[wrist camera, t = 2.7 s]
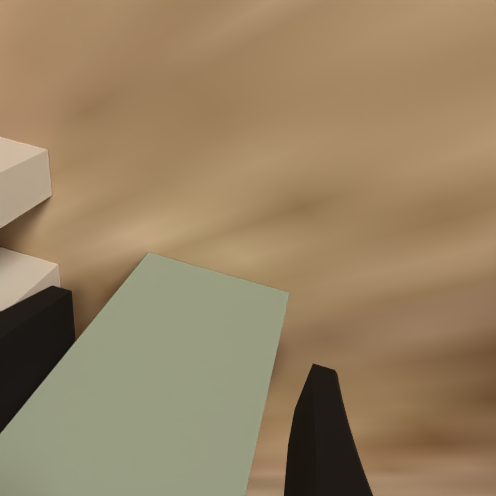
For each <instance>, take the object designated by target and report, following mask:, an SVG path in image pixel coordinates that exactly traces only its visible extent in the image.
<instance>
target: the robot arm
mask: <svg viewBox="0 0 496 496" xmlns="http://www.w3.org/2000/svg"><path fill="white" fill-rule="evenodd" d="M74 342H75V330H74V317H73V304H72V291H70V290H66V289H63V288H60V287H56V286H53V285H52V286H50V287H48V288H46V289H44V290H42V291H40V292H38V293H36V294H34V295H32V296H30V297H28V298H26V299H24V300H22V301H20V302H18V303H16V304H14V305H12V306H10V307H8V308H6V309H4V310H2V311H0V434H1V432H2V431H3V430H4V429H5V428H6V426H7V425H8V424H9V423H10V421H11V420H12V419H13V418H14V417H15V415H16V414H17V413H18V412H19V410H20V409H21V408H22V407H23V406H24V404H25V403H26V402H27V401H28V399H29V398H30V397H31V396H32V394H33V393H34V392H35V391H36V390H37V388H38V387H39V386H40V385H41V383H42V382H43V381H44V380H45V379H46V377H47V376H48V375H49V374H50V372H51V371H52V370H53V369H54V368H55V366H56V365H57V364H58V363H59V361H60V360H61V359H62V358H63V357H64V355H65V354H66V353H67V352H68V350H69V349H70V348H71V346H72V345H73V343H74ZM284 496H373V494H372V492H371V489H370V486H369V484H368V481H367V478H366V476H365V473H364V470H363V467H362V464H361V461H360V458H359V456H358V452H357V449H356V446H355V443H354V440H353V436H352V433H351V430H350V426H349V423H348V419H347V415H346V412H345V408H344V404H343V400H342V395H341V391H340V386H339V381H338V375H337V373H336V371H335V370H333V369H330V368H326V367H323V366H320V365H316V364H313V365H312V367H311V370H310V372H309V375H308V377H307V380H306V382H305V385H304V387H303V390H302V392H301V395H300V397H299V400H298V402H297V405H296V407H295V411H294V416H293V422H292V427H291V432H290V438H289V443H288V453H287V465H286V477H285V489H284Z"/></svg>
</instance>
